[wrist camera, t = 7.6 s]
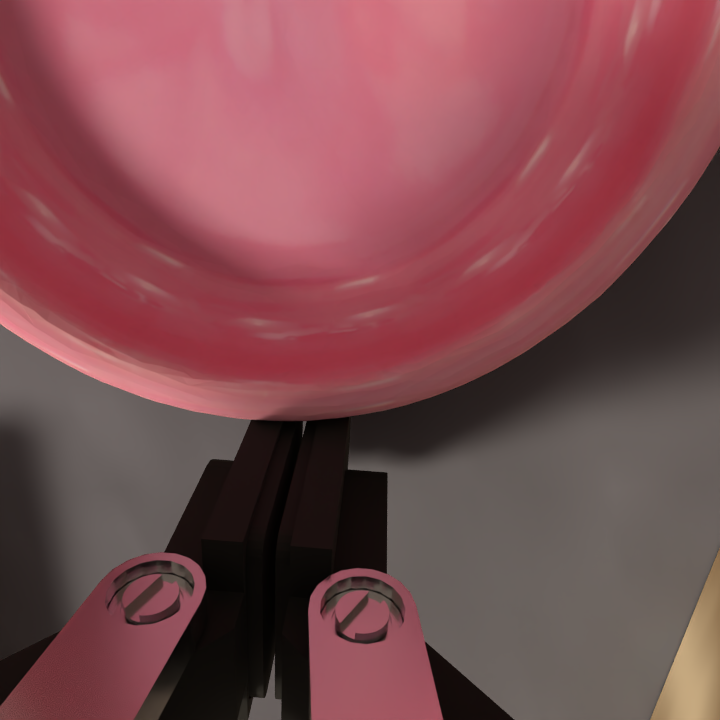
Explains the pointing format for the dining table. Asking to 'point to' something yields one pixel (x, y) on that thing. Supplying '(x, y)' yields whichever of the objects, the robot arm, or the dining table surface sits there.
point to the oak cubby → (696, 662)
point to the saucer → (334, 185)
